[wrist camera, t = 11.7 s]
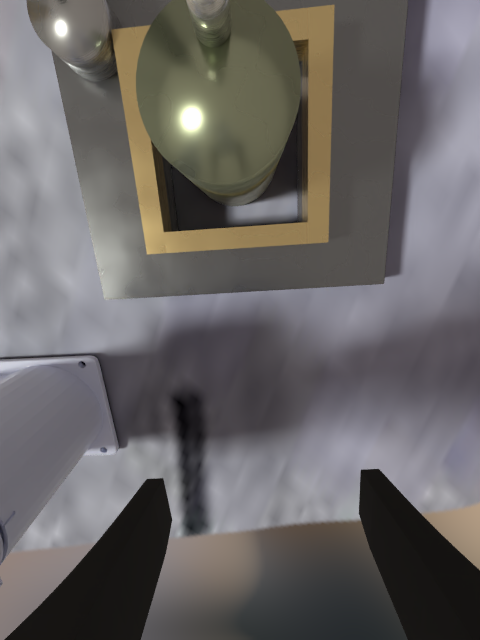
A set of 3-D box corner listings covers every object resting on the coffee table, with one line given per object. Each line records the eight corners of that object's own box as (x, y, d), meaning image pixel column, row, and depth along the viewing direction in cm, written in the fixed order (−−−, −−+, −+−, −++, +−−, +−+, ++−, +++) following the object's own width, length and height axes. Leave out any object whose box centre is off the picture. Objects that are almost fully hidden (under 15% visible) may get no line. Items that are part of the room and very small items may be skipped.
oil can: (197, 209, 16) (130, 179, 7) (187, 116, 15) (90, -64, 6) (277, 203, 16) (312, 164, 7) (274, 108, 15) (313, -95, 6)
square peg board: (116, 294, 18) (85, 308, 15) (60, 15, 14) (0, -54, 10) (372, 279, 17) (402, 290, 14) (394, -24, 13) (444, -113, 10)
